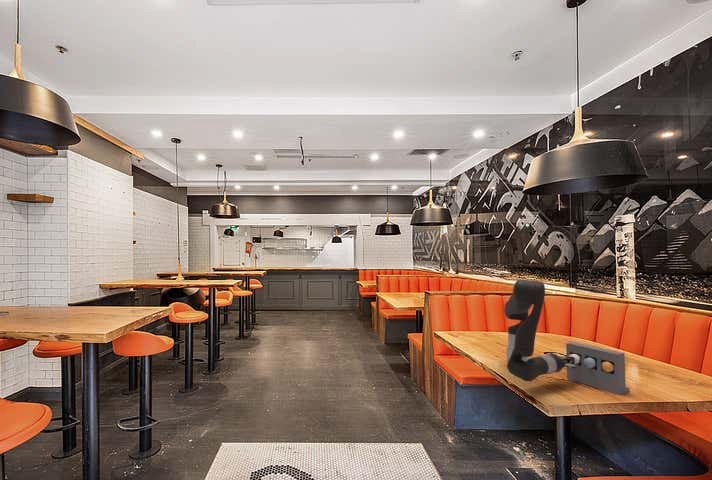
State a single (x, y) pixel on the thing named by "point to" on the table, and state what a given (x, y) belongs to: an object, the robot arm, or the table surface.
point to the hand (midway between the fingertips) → (572, 359)
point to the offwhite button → (576, 358)
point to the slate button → (590, 362)
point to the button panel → (598, 368)
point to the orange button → (608, 366)
